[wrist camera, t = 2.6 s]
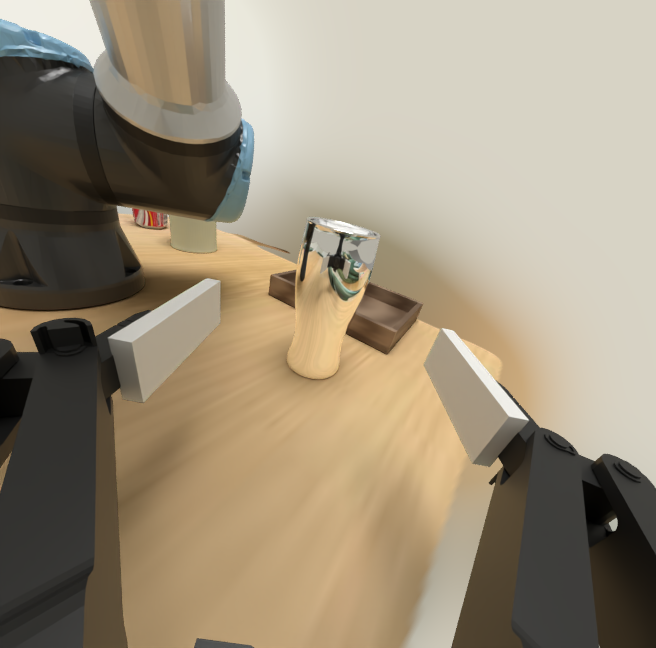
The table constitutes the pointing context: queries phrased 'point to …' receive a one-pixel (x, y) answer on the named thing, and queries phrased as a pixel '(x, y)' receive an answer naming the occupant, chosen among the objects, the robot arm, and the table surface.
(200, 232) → the can
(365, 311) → the walnut tray
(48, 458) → the robot arm
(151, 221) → the soda can
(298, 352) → the beer glass
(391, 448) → the table surface
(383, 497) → the table surface
